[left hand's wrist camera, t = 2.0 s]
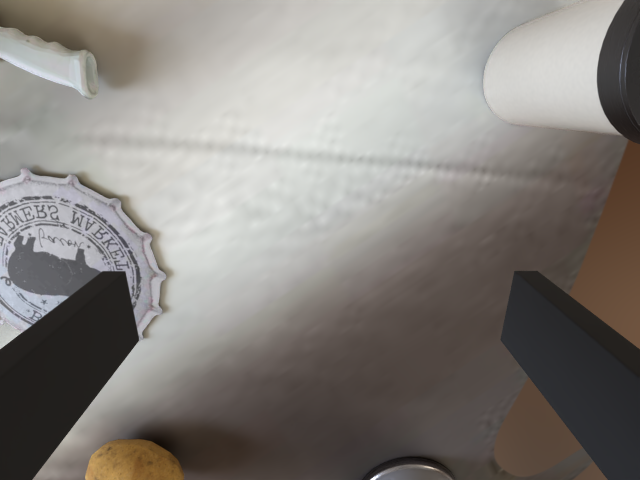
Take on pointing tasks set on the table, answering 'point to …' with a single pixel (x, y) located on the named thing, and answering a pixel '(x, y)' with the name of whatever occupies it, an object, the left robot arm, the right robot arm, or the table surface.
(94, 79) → the tape dispenser
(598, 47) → the jar
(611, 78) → the lid
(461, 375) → the table surface
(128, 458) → the potato
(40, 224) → the decorative wall hanging
